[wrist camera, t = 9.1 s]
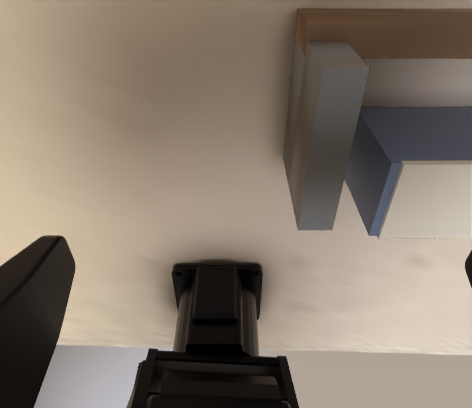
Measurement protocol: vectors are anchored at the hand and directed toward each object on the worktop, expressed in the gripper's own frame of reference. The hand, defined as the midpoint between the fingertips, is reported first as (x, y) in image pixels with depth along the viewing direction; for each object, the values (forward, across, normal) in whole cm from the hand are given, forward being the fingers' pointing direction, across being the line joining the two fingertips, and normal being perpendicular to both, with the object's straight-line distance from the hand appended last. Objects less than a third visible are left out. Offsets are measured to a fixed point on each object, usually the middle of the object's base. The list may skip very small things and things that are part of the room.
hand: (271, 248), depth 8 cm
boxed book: (+12, -10, +4) cm, 16 cm away
